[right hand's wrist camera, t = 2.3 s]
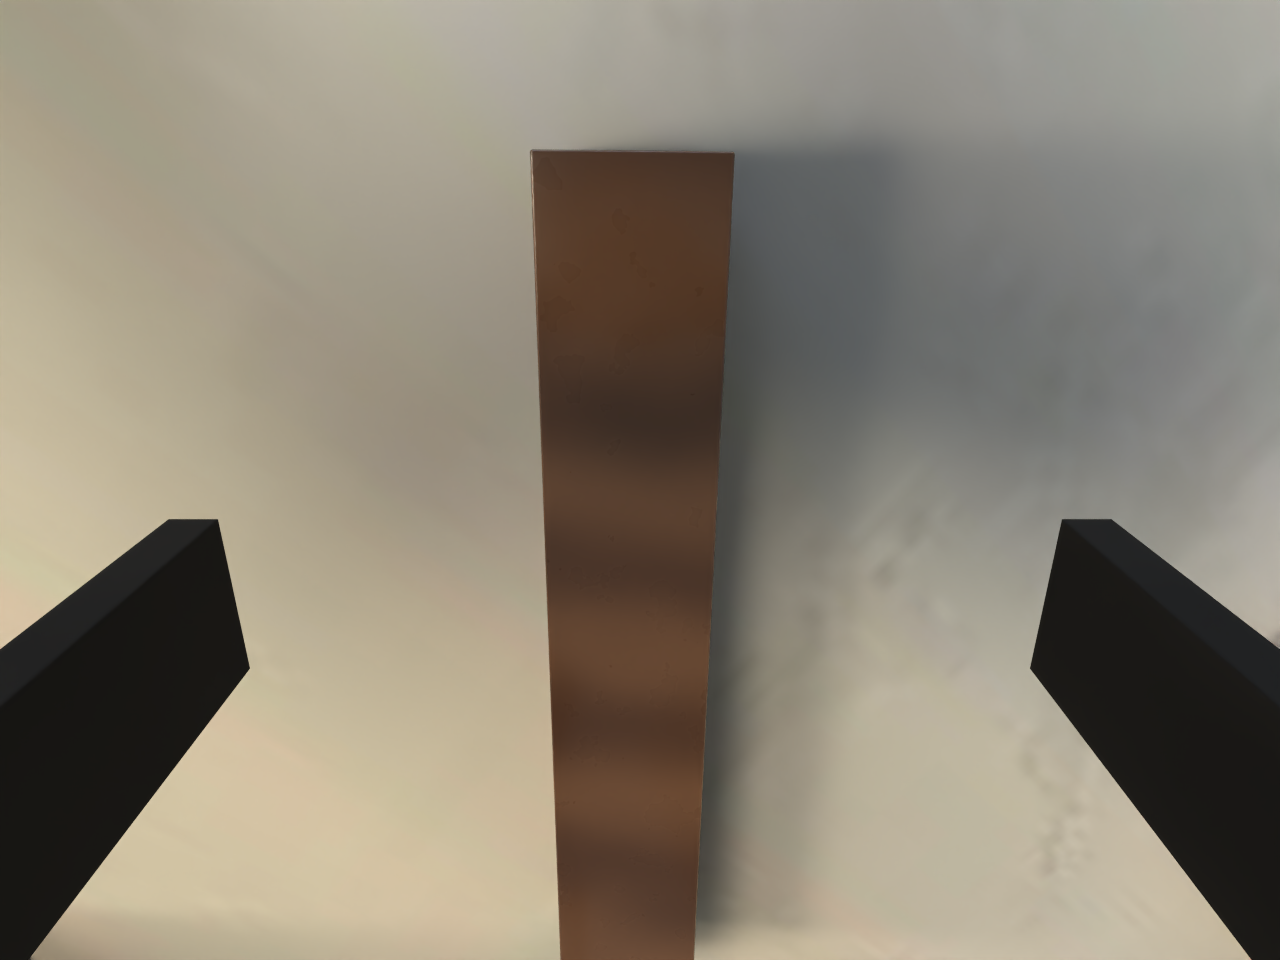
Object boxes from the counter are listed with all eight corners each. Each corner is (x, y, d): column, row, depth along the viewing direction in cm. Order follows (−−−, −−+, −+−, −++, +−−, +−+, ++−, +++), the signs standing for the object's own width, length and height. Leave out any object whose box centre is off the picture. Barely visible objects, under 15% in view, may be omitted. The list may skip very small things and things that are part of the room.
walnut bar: (675, 915, 39) (685, 1123, 30) (581, 914, 39) (566, 1123, 30) (704, 152, 26) (734, 151, 18) (564, 150, 26) (529, 149, 18)
